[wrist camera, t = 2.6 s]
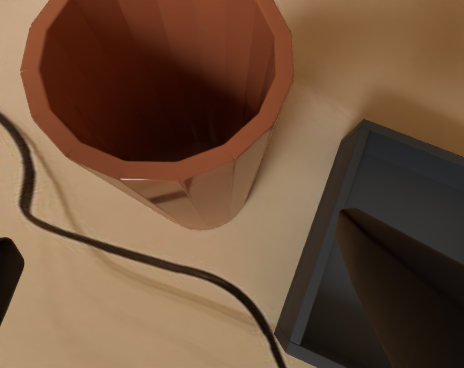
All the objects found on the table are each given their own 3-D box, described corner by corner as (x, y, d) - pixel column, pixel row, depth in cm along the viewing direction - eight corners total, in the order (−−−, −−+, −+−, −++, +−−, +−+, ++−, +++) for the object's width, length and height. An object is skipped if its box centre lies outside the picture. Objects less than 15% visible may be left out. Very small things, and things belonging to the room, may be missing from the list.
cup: (226, 245, 18) (230, 228, 6) (138, 207, 19) (-37, 113, 6) (262, 160, 20) (328, -3, 7) (180, 126, 20) (107, -81, 8)
